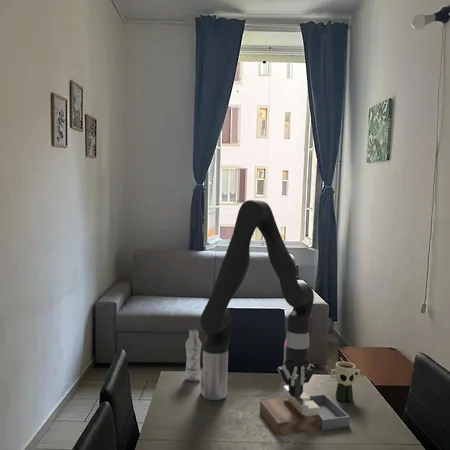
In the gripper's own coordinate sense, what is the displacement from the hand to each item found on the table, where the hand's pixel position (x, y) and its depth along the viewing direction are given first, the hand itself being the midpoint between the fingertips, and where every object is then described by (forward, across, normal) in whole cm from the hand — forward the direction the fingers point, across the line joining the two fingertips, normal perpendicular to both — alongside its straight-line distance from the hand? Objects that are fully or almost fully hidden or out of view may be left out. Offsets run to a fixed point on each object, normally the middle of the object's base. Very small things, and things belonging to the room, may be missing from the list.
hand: (295, 395), depth 151 cm
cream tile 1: (+5, -4, -4) cm, 7 cm away
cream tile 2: (+5, -4, +3) cm, 7 cm away
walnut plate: (+9, +2, 0) cm, 9 cm away
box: (+9, -11, 0) cm, 14 cm away
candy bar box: (+9, -10, -28) cm, 31 cm away
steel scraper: (+3, 0, 0) cm, 3 cm away
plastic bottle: (+9, +27, -39) cm, 48 cm away
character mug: (+9, -25, -10) cm, 28 cm away
